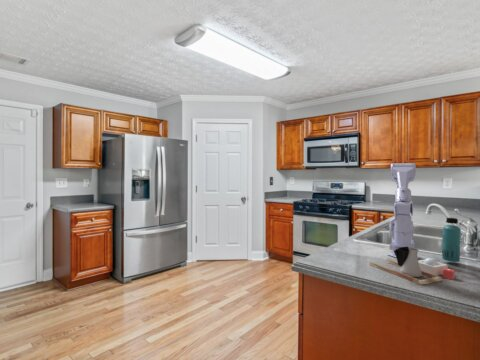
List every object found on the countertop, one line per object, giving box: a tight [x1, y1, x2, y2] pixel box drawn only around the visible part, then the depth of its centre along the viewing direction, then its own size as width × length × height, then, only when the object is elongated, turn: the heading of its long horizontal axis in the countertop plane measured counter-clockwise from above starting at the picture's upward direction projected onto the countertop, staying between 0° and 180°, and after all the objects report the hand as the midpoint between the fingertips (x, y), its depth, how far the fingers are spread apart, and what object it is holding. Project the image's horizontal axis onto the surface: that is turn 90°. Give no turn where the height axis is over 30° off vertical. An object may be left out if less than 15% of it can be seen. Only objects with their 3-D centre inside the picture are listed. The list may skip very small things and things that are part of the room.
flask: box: [398, 247, 423, 278], centre depth 111 cm, size 7×7×10 cm
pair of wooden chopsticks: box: [369, 258, 443, 285], centre depth 114 cm, size 11×23×1 cm, turn 22°
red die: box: [442, 267, 456, 281], centre depth 108 cm, size 3×3×3 cm
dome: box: [423, 257, 438, 266], centre depth 114 cm, size 5×5×5 cm
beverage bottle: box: [441, 217, 461, 263], centre depth 125 cm, size 6×7×20 cm
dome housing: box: [418, 259, 449, 276], centre depth 114 cm, size 8×8×4 cm
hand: (401, 265), depth 114 cm, fingers closed, pressing on flask
